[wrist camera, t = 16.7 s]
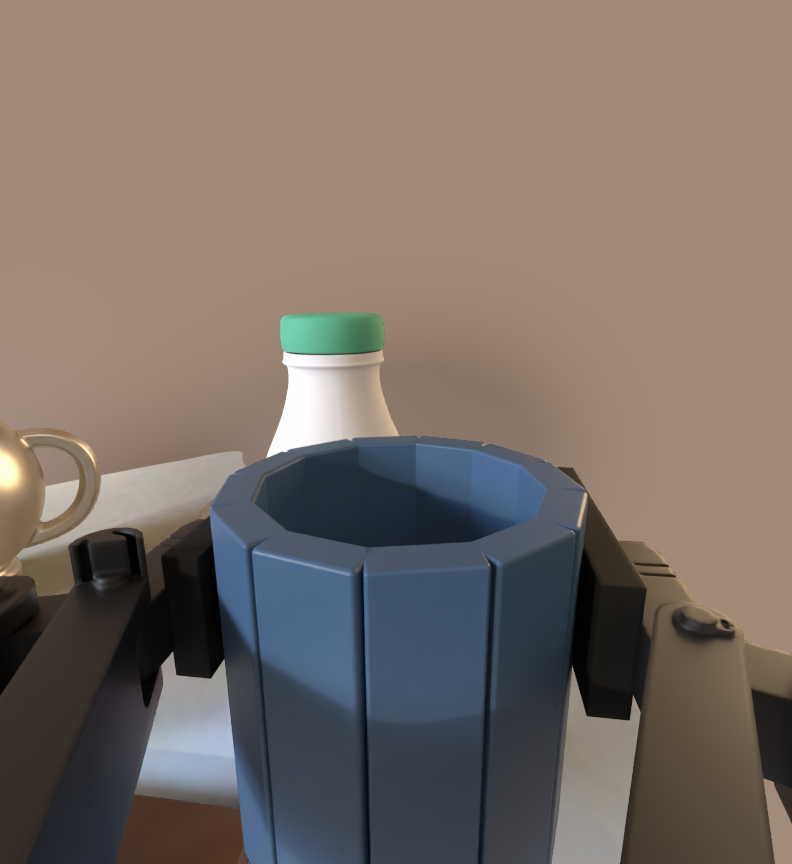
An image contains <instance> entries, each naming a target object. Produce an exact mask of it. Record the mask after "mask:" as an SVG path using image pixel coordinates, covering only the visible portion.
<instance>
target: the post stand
mask: <svg viewBox="0 0 792 864" xmlns="http://www.w3.org/2000/svg"><path fill="white" fill-rule="evenodd" d="M248 862H249V860H248V857H247V855H246V853H245V850H244V841H243V831H242V822H241V812H240V809H239V808H232V807H224V806H217V805H209V804H201V803H194V802H186V801H179V800H171V799H163V798H156V797H148V796H141V795H134V796H133V800H132V804H131V808H130V812H129V815H128V819H127V823H126V827H125V830H124V834H123V838H122V842H121V845H120V849H119V853H118V857H117V861H116V864H248Z"/></svg>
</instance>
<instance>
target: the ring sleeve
mask: <svg viewBox="0 0 792 864" xmlns="http://www.w3.org/2000/svg"><path fill="white" fill-rule="evenodd" d="M587 505H588V495H587V493H585V489H584V488H583V487H582V486H580V485H579V484H578V483H576V482H575V481H574V480H572V479H571V478H570V477H569V476H567V475H566V474H565V473H563V472H562V471H561V470H559V469H558V468H557V467H556V466H554V465H553V464H552V463H549V462H546V461H545V460H543V459H540V458H536V457H533V456H530V455H526V454H523V453H520V452H516V451H512V450H509V449H506V448H503V447H499V446H496V445H493V444H488V445H486V444H485V443H484V442H475V441H466V440H457V439H447V438H438V437H428V436H421V437H420V438H418V437H417V436H390V437H360V438H352V441H351V440H348V439H342V440H337V441H331V442H326V443H320V444H315V445H310V446H304V447H299V448H293V449H289V450H287V452H283V451H282V452H279V453H277V454H275V455H272V456H270V457H268V458H266V459H263V460H261V461H259V462H256V463H254V464H252V465H249V466H247V467H245V468H243V469H240V470H238V471H236V472H234V475H230V476H229V477H228V478H227V480H226V481H225V483H224V485H223V486H222V488H221V489H220V491H219V492H218V494H217V496H216V497H215V499H214V500H213V502H212V504H211V505H210V508H209V510H210V521H211V531H212V541H213V550H214V560H215V570H216V579H217V589H218V599H219V608H220V618H221V628H222V638H223V647H224V657H225V667H226V676H227V686H228V696H229V705H230V715H231V725H232V734H233V744H234V754H235V763H236V773H237V783H238V792H239V802H240V812H241V822H242V831H243V841H244V850H245V853H246V855H247V857H248V860H249V862H250V864H551V863H552V856H553V849H554V841H555V834H556V827H557V820H558V812H559V801H560V790H561V780H562V769H563V759H564V748H565V738H566V727H567V716H568V706H569V695H570V685H571V674H572V664H573V653H574V642H575V632H576V621H577V611H578V600H579V590H580V579H581V568H582V558H583V547H584V537H585V526H586V516H587Z"/></svg>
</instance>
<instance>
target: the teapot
mask: <svg viewBox="0 0 792 864" xmlns="http://www.w3.org/2000/svg"><path fill="white" fill-rule="evenodd" d="M38 447H46V448H53V449H57V450H60V451H62V452H64V453H66V454H67V455H69V456H70V457H71V458H72V459H73V460H74V462H75V464H76V466H77V468H78V471H79V489H78V493H77V496H76V498H75V500H74V502H73V503H72V505H71V506H70V507H69V508H68V510H67V511H65V512H64V513H63V514H62V515H60V516H58V517H57V518H55V519H53V520H50V521H48V522H41V521H40V518H41V516H42V512H43V508H44V502H45V481H44V476H43V472H42V469H41V466H40V463H39V461H38V459H37V457H36V455H35V453H34V450H35V449H36V448H38ZM100 486H101V472H100V467H99V463H98V460H97V458H96V456H95V454H94V452H93V451H92V449H91V448H90V447H89V446H88V445H87V444H86V443H85V442H84V441H83V440H81V439H80V438H78V437H76V436H74V435H72V434H70V433H67V432H65V431H61V430H57V429H50V428H31V429H24V430H19V431H15V430H14V429H13V428H12V427H10V426H9V425H8V424H6V423H5V422H3V421H2V420H0V576H14V575H21V576H22V564H21V562H20V560H19V559H18V558H17V557H16V556H17V555H18V554H19V553H20V552H21V550H22V549H25V548H28V547H32V546H35V545H38V544H41V543H44V542H47V541H50V540H52V539H55V538H57V537H59V536H62V535H64V534H66V533H68V532H69V531H71V530H72V529H74V528H75V527H77V526H78V525H79V524H80V523H81V522H83V521H84V519H85V518H86V517H87V516H88V515H89V513H90V512H91V510H92V509H93V507H94V505H95V503H96V501H97V498H98V495H99V491H100Z"/></svg>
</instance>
